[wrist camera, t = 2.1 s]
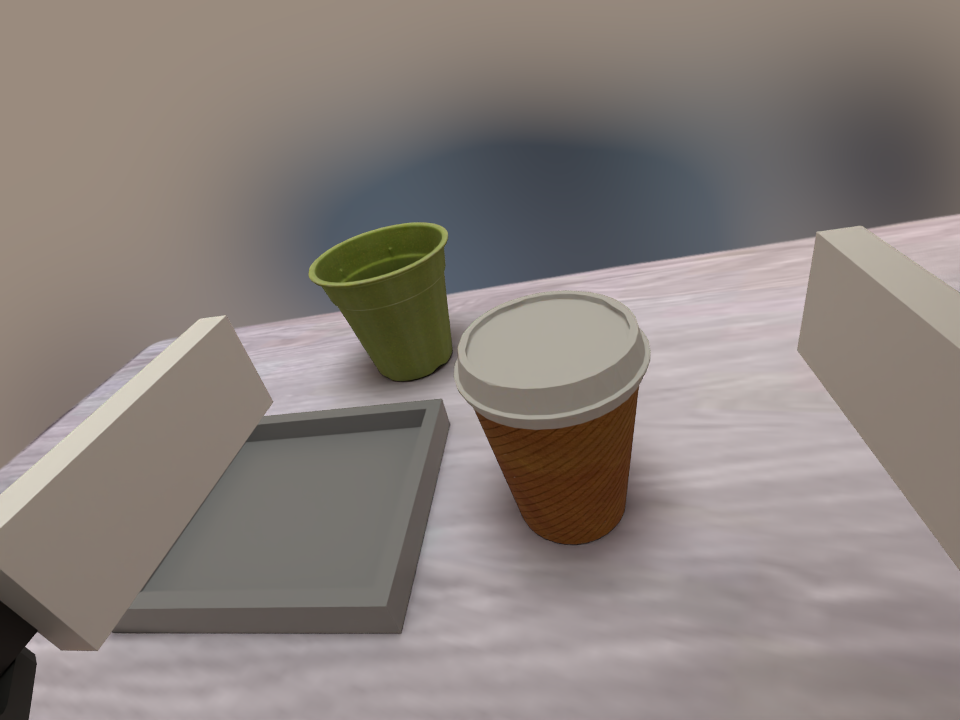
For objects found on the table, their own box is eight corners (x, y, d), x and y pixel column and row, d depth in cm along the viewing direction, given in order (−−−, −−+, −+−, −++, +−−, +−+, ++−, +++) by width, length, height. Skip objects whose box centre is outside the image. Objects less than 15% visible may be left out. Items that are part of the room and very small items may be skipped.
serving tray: (450, 423, 39) (441, 398, 38) (401, 633, 26) (386, 606, 25) (245, 441, 43) (231, 419, 41) (112, 632, 30) (85, 609, 28)
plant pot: (344, 357, 51) (299, 254, 45) (450, 315, 54) (422, 212, 48) (370, 419, 42) (318, 299, 36) (497, 364, 44) (469, 243, 38)
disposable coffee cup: (464, 510, 32) (410, 353, 25) (562, 425, 36) (538, 273, 30) (585, 607, 25) (554, 427, 19) (688, 488, 30) (692, 310, 23)
